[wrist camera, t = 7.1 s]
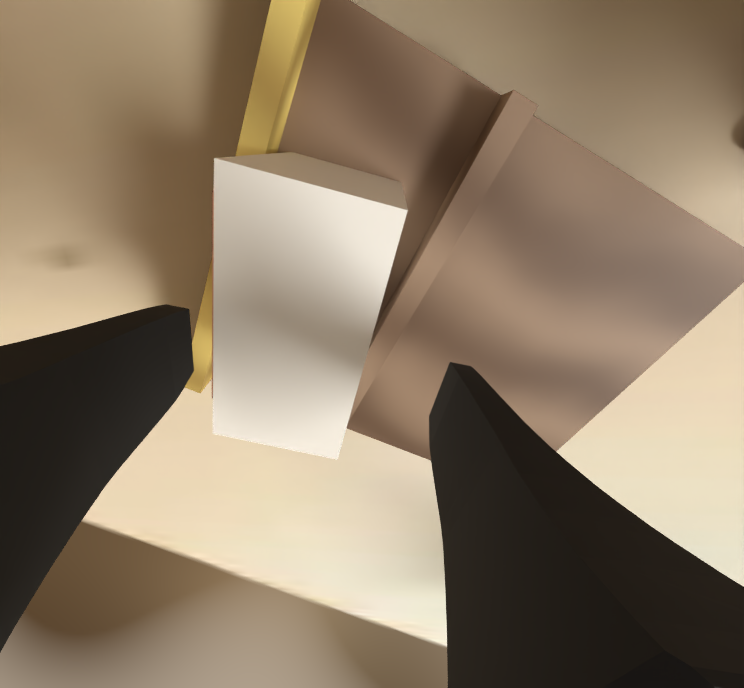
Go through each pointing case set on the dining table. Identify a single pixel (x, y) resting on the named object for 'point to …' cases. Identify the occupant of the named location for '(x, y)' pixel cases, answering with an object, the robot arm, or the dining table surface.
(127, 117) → the dining table surface
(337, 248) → the label carton
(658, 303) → the shelf board
